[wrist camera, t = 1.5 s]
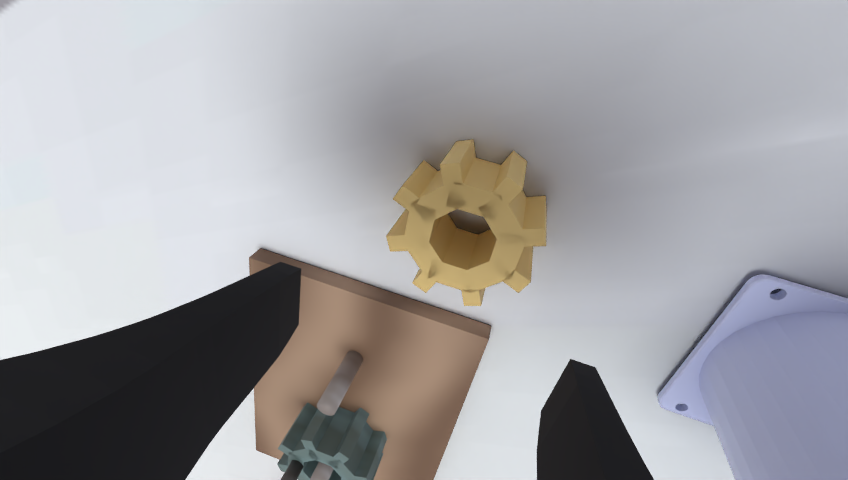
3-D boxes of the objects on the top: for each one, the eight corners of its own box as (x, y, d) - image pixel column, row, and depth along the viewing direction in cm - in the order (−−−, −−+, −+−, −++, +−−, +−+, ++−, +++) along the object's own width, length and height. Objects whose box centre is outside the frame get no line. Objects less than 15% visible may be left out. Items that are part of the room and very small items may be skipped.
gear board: (491, 325, 21) (474, 416, 16) (422, 501, 30) (399, 591, 25) (260, 248, 22) (184, 310, 18) (264, 438, 32) (215, 511, 27)
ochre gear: (565, 164, 16) (568, 193, 13) (518, 280, 19) (513, 322, 16) (424, 125, 17) (402, 145, 14) (400, 243, 20) (378, 277, 17)
